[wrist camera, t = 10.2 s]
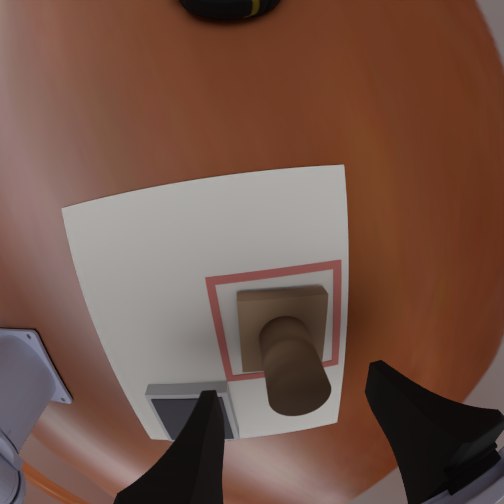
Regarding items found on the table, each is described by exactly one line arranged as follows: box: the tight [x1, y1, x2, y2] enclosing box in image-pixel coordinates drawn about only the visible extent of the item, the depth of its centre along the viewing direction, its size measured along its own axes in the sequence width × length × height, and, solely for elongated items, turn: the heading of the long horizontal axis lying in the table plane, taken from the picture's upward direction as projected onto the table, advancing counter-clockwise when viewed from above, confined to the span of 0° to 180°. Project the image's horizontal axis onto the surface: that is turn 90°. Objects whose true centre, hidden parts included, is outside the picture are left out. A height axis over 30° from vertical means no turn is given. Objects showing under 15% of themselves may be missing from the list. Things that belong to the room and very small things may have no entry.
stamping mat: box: [62, 165, 348, 441], centre depth 17 cm, size 17×21×2 cm
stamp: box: [237, 286, 331, 416], centre depth 14 cm, size 5×5×6 cm
